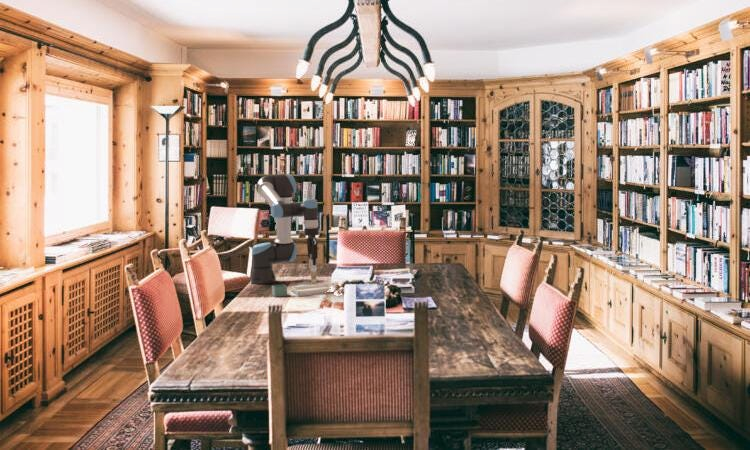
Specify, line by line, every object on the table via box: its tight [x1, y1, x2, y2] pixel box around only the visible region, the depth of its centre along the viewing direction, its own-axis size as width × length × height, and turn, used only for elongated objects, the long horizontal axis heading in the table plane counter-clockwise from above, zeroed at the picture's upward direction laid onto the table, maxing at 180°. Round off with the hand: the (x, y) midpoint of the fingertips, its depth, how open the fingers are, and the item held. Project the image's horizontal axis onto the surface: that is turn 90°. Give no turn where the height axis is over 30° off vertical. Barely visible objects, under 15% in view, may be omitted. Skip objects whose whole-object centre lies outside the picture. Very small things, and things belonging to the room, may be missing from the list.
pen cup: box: [271, 284, 288, 297], centre depth 368 cm, size 7×7×5 cm
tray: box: [290, 282, 333, 297], centre depth 374 cm, size 16×22×2 cm
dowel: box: [309, 254, 317, 285], centre depth 373 cm, size 3×3×16 cm
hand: (313, 270), depth 373 cm, fingers closed on dowel, 3 cm apart
